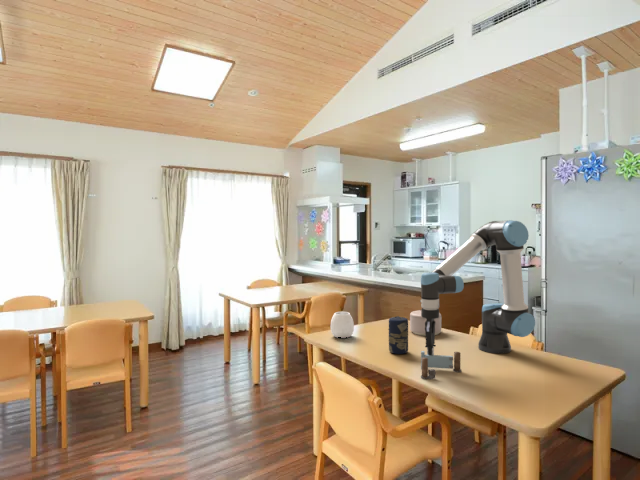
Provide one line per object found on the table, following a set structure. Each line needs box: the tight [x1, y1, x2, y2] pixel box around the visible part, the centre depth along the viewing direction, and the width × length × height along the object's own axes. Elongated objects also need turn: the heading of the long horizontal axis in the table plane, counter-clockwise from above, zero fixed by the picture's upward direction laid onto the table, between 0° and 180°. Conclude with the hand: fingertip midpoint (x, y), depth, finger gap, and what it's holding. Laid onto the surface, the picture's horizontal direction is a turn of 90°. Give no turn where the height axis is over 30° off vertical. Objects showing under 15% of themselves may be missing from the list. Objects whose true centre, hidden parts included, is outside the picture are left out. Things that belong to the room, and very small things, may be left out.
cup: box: [330, 311, 355, 339], centre depth 233 cm, size 13×13×14 cm
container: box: [409, 309, 442, 337], centre depth 240 cm, size 18×18×12 cm
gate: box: [420, 350, 454, 370], centre depth 176 cm, size 13×2×8 cm, turn 79°
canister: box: [387, 315, 409, 355], centre depth 202 cm, size 10×10×18 cm
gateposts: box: [420, 351, 462, 380], centre depth 170 cm, size 21×4×8 cm, turn 115°
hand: (430, 361), depth 179 cm, fingers closed
